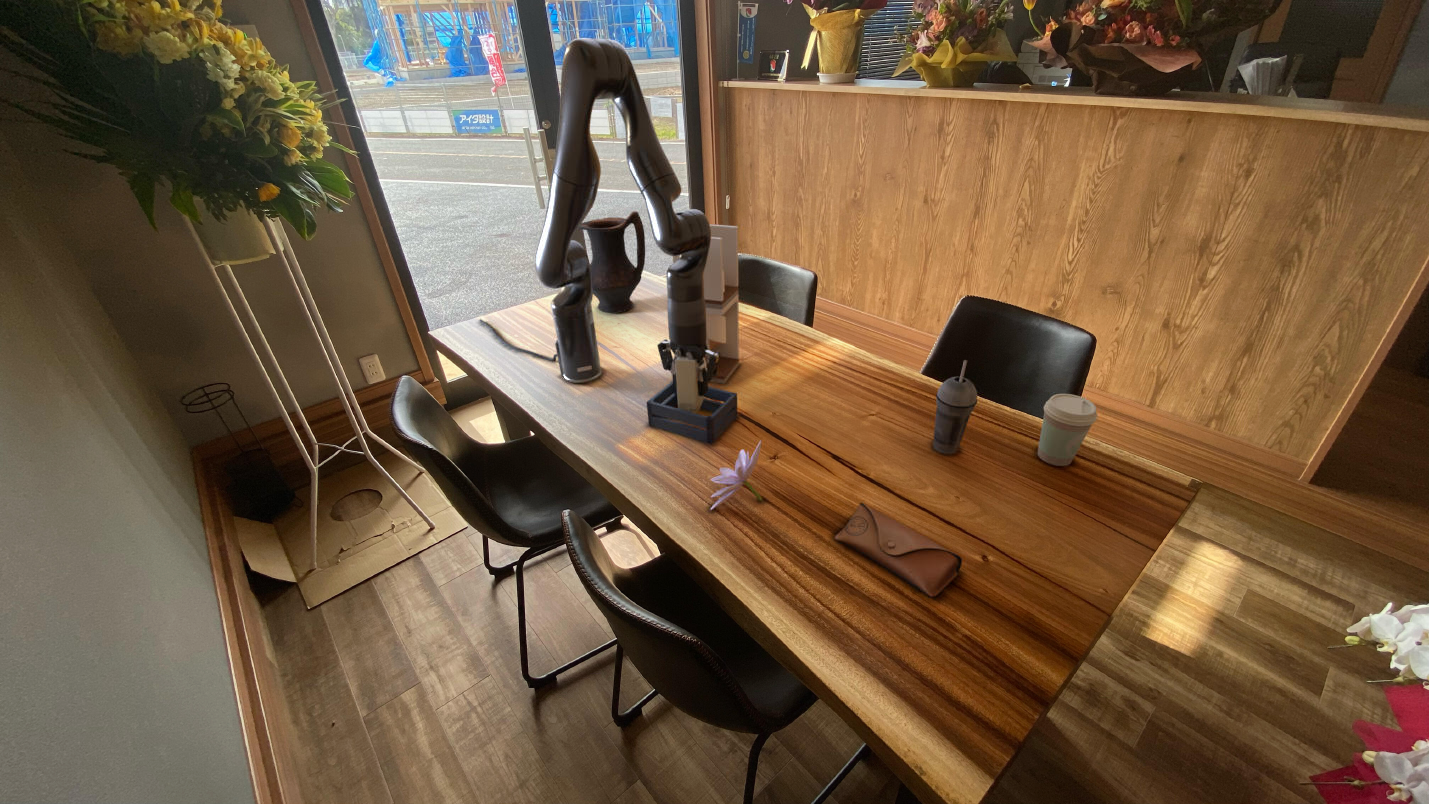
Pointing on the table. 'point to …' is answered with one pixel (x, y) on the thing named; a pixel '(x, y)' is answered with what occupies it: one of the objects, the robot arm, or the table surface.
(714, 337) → the two-tier display stand
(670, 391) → the crate
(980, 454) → the table surface
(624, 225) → the jug
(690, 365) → the cosmetic box
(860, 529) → the sunglasses case
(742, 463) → the water lily
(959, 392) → the beverage cup
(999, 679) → the table surface
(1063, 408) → the coffee cup
